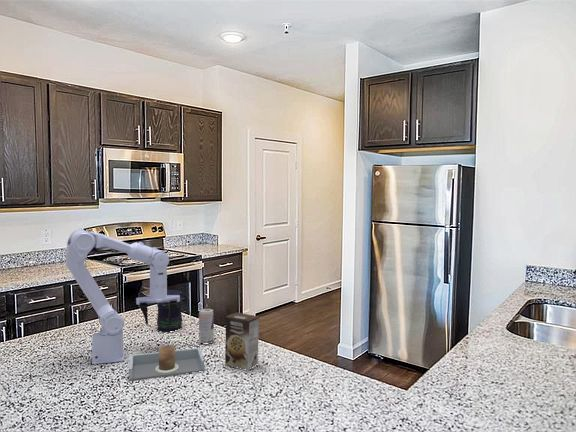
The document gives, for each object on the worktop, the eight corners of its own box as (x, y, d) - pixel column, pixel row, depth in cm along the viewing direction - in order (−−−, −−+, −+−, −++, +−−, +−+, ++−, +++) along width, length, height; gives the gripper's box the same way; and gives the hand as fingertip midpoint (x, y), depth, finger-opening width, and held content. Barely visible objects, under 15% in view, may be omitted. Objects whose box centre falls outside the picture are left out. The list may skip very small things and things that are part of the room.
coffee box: (224, 365, 133) (224, 316, 132) (235, 359, 138) (236, 311, 138) (248, 372, 128) (248, 320, 128) (259, 364, 134) (259, 315, 133)
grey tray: (129, 381, 121) (129, 369, 121) (130, 366, 131) (130, 355, 131) (204, 371, 128) (204, 360, 128) (199, 358, 138) (199, 347, 138)
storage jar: (155, 326, 171) (155, 290, 170) (179, 323, 175) (179, 288, 174) (158, 333, 162) (158, 296, 161) (184, 330, 166) (184, 294, 165)
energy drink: (215, 340, 156) (215, 308, 155) (211, 345, 150) (211, 312, 150) (201, 339, 156) (201, 308, 156) (196, 344, 151) (197, 312, 150)
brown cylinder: (159, 371, 126) (159, 352, 125) (158, 365, 130) (158, 346, 130) (175, 369, 127) (175, 350, 127) (174, 363, 132) (174, 344, 131)
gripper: (136, 288, 139) (136, 328, 139) (180, 285, 143) (180, 324, 144) (136, 284, 145) (136, 322, 146) (179, 281, 150) (179, 318, 151)
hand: (158, 322), depth 145 cm, fingers open, 7 cm apart
